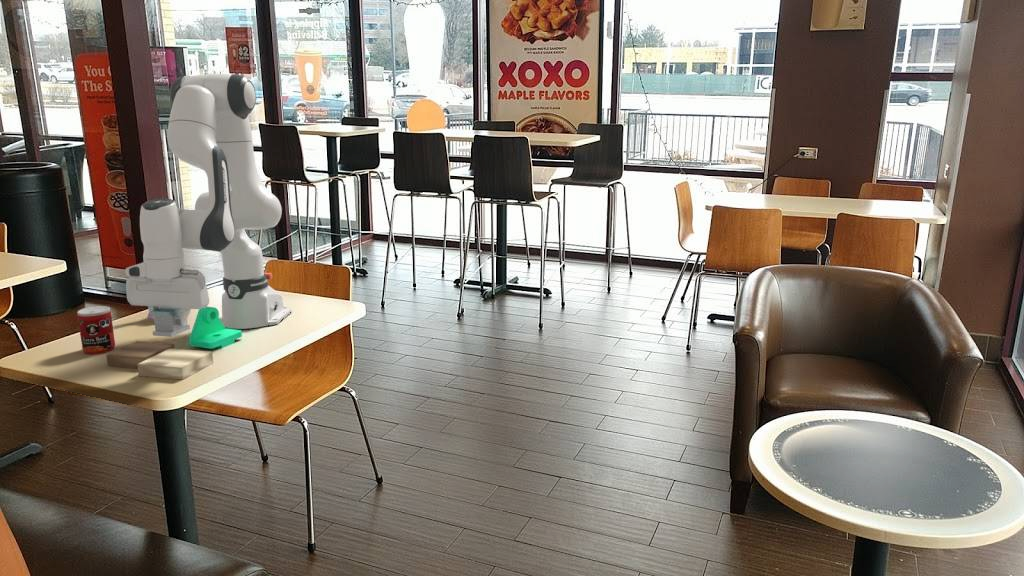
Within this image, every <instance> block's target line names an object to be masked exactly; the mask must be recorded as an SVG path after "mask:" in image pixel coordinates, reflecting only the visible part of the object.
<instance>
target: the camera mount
mask: <svg viewBox="0 0 1024 576" xmlns="http://www.w3.org/2000/svg"><path fill="white" fill-rule="evenodd" d="M219 318H220V312H219V309H218V308H217V307H214V306H207V307H204V308H202V309H198V311H197V313H196V318H195V320H194V323H193V327H192V330H191V332H190V336H189V339H188V343H189V346H190V347H196V348H197V347H198V348H203V349H209V350H210V349H216V348H219V349H223V348H226V347H229V346H231V345H234V344H235V342H236V341H235V340H237V339H240V338H242V337H243V332H242V329H233V328H227V327H225V326H224V325H223V323H222V322H221V320H220V319H219Z"/></svg>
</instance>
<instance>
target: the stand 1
mask: <svg viewBox="0 0 1024 576" xmlns="http://www.w3.org/2000/svg"><path fill="white" fill-rule="evenodd" d="M168 349H175V344H174V343H166V342H153V341H141V340H140V341H137V340H136V341H134V342H131V343H130V344H128V345H125V346H123V347H121V348H117V349H116V350H112V351H111V352H108V353H107V354H106V353H105V354H106V361H107V366H108V367H114V368H115V367H116V368H126V369H127V368H129V369H138V364H139V363H141V362H143V361H145V360H147V359H149V358H151V357H153V356H155V355H158V354H160V353H162V352H164V351H166V350H168Z"/></svg>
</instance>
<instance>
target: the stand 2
mask: <svg viewBox="0 0 1024 576" xmlns="http://www.w3.org/2000/svg"><path fill="white" fill-rule="evenodd" d="M213 357H214V356H213V351H209V350H196V349H194V350H193V349H183V348H182V349H181V348H180V349H179V348H174V349H168V350H166V351H164V352H162V353H160V354H158V355H155V356H153V357H151V358H149V359H147V360H145V361H143V362H141V363H139V364H138V368H137V370H138V376H140V377H146V376H148V377H149V378H158V379H159V378H160V379H169V378H170V379H173V380H182V381H183V380H185V379H187V378H189V377H191V376H192V375H195V374H196V373H198V372H200V371H201V370H203V369H205V368H208V367H209V366H210V365H212V364H214V358H213Z"/></svg>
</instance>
